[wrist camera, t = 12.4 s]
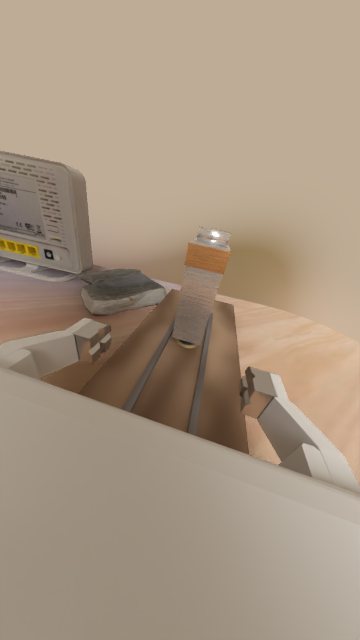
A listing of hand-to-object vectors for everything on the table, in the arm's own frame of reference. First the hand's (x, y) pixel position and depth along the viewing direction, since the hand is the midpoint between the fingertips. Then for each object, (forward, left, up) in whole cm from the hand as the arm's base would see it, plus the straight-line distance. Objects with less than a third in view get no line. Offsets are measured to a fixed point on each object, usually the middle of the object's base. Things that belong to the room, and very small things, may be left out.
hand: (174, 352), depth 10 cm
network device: (-39, +24, -9) cm, 46 cm away
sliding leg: (0, +11, -7) cm, 13 cm away
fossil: (-17, +23, -10) cm, 30 cm away
